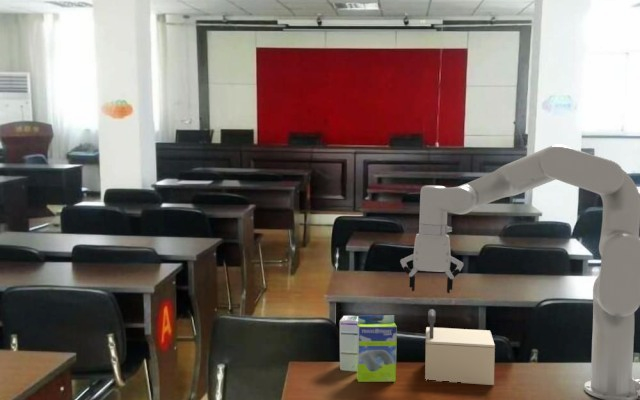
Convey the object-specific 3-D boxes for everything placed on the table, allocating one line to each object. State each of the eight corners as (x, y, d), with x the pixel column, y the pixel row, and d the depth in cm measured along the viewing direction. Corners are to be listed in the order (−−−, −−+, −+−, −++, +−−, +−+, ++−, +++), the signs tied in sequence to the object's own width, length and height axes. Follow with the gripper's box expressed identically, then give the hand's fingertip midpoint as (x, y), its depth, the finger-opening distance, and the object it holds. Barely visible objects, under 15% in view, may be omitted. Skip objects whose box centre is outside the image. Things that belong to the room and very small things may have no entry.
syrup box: (359, 372, 173) (360, 321, 172) (339, 370, 174) (339, 319, 173) (362, 365, 179) (363, 316, 178) (342, 363, 180) (342, 314, 179)
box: (357, 382, 165) (358, 319, 164) (356, 377, 169) (356, 315, 168) (396, 382, 166) (397, 318, 164) (394, 376, 170) (395, 314, 168)
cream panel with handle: (490, 332, 177) (490, 309, 176) (494, 347, 163) (495, 322, 163) (426, 329, 180) (426, 306, 180) (425, 343, 166) (426, 319, 166)
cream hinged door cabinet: (489, 367, 177) (489, 333, 177) (493, 385, 164) (494, 348, 163) (425, 363, 181) (426, 329, 180) (425, 380, 167) (425, 344, 166)
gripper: (464, 230, 173) (461, 290, 174) (402, 227, 176) (400, 286, 177) (465, 233, 166) (463, 296, 167) (400, 230, 169) (398, 292, 170)
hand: (430, 291), depth 172 cm, fingers open, 9 cm apart
